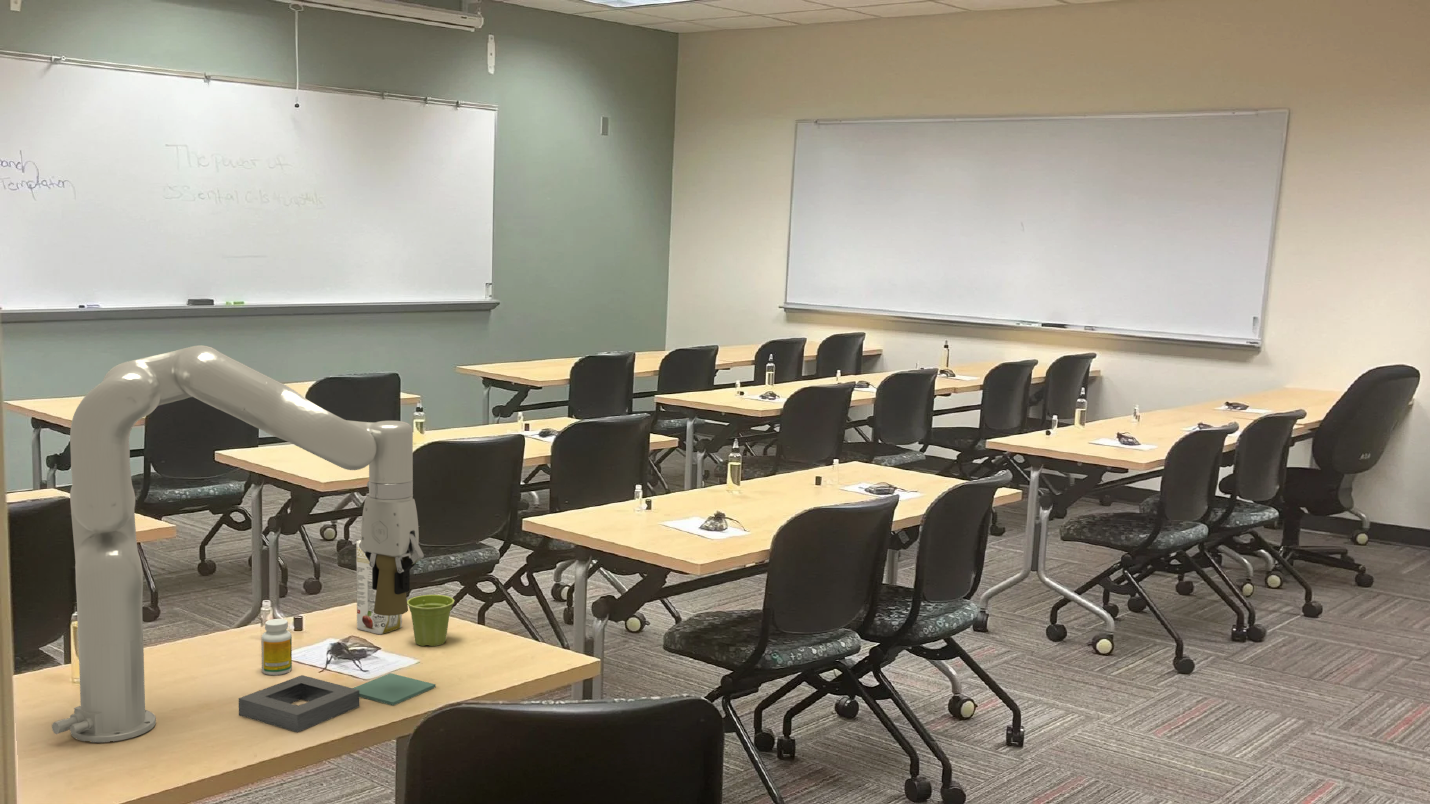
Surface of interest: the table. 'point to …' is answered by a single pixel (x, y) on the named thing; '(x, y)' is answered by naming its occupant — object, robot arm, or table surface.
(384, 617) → the juice carton
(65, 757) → the table surface
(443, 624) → the plant pot
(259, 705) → the socket block
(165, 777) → the table surface
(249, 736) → the table surface
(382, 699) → the rubber mat
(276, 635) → the supplement bottle
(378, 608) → the cork
